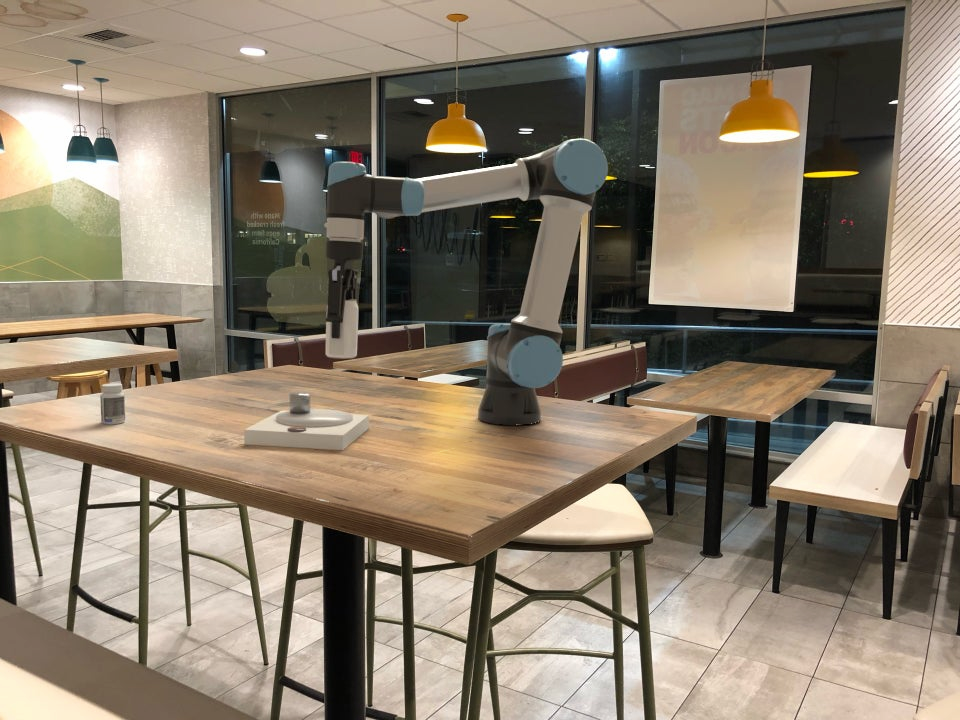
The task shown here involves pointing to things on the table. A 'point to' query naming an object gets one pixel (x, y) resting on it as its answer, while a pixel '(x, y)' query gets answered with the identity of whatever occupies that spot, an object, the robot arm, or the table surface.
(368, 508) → the table surface
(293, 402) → the cylinder
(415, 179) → the robot arm
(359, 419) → the scale
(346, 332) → the can
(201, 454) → the table surface
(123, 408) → the pill bottle
